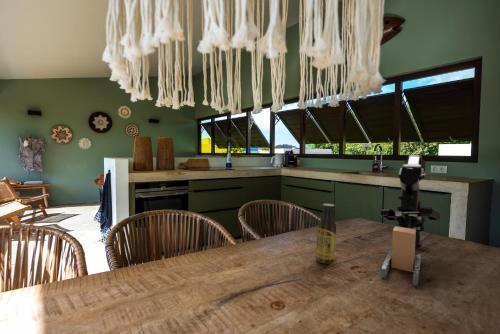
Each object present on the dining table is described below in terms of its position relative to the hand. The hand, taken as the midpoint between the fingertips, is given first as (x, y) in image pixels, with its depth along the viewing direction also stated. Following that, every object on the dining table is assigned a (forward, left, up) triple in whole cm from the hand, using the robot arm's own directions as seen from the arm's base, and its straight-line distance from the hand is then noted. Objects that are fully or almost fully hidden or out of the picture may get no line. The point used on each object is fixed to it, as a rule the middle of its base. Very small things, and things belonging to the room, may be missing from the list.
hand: (406, 237), depth 97 cm
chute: (+8, -10, -8) cm, 15 cm away
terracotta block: (+6, -7, -7) cm, 12 cm away
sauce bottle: (-6, -28, -8) cm, 30 cm away
